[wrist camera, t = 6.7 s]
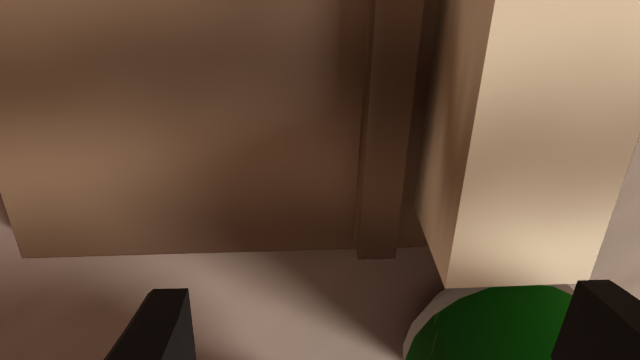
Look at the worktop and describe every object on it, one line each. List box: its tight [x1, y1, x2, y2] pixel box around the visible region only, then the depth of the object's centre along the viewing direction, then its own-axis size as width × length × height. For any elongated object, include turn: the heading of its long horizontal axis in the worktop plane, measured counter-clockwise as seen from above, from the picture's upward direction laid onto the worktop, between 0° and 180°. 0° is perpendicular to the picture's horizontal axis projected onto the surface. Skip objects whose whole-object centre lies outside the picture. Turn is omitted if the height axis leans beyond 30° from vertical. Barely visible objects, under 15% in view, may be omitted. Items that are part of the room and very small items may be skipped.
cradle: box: [0, 0, 640, 260], centre depth 15 cm, size 12×20×4 cm, turn 89°
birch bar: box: [413, 0, 640, 289], centre depth 15 cm, size 8×4×4 cm, turn 179°
